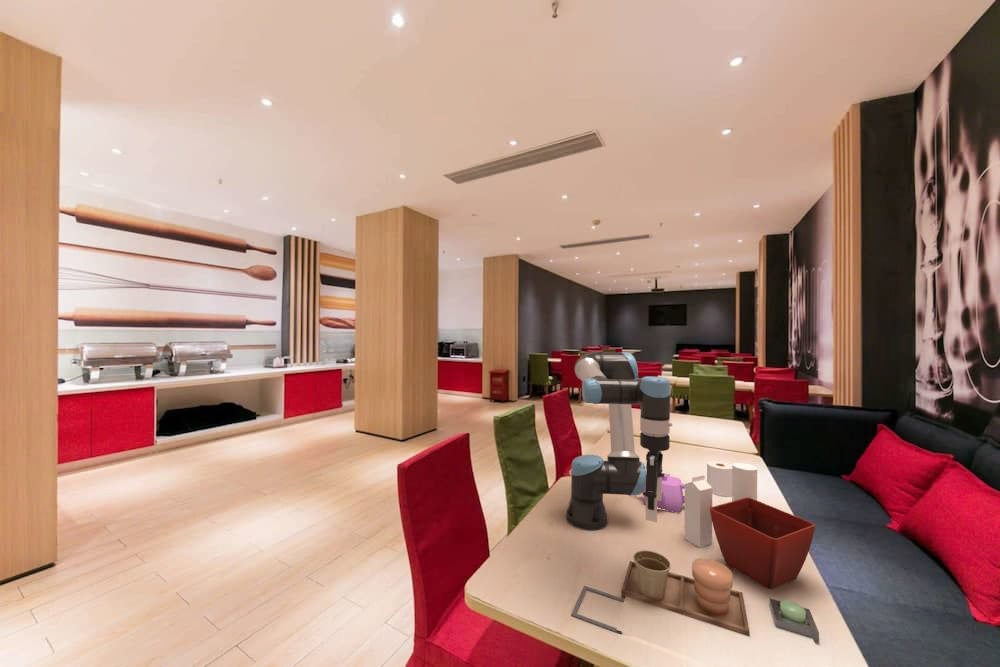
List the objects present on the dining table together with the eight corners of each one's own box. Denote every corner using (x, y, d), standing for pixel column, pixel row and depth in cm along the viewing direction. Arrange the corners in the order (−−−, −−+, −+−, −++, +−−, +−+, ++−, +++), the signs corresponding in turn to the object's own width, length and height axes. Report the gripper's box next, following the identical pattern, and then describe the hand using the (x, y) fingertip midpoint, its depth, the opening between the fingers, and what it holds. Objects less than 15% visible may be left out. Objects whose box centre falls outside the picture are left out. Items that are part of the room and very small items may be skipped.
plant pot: (774, 603, 96) (775, 538, 96) (707, 562, 113) (708, 507, 113) (816, 584, 104) (817, 524, 104) (747, 548, 121) (748, 496, 121)
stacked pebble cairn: (691, 609, 92) (691, 573, 93) (692, 588, 100) (692, 554, 100) (734, 623, 88) (734, 585, 88) (730, 599, 96) (731, 564, 96)
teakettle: (696, 511, 146) (696, 480, 146) (658, 516, 142) (658, 484, 142) (666, 493, 163) (667, 465, 163) (632, 497, 159) (633, 468, 159)
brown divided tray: (621, 597, 98) (621, 590, 98) (629, 566, 111) (629, 560, 111) (749, 639, 84) (749, 631, 84) (742, 599, 97) (742, 592, 97)
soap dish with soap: (775, 629, 87) (775, 619, 87) (769, 607, 94) (769, 598, 94) (818, 643, 84) (819, 632, 84) (809, 619, 91) (809, 609, 91)
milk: (712, 544, 123) (713, 478, 123) (699, 548, 121) (700, 481, 121) (696, 534, 129) (697, 471, 129) (683, 538, 126) (684, 474, 126)
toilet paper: (710, 495, 161) (710, 467, 161) (704, 485, 171) (704, 459, 171) (736, 498, 158) (737, 470, 158) (729, 488, 168) (729, 462, 168)
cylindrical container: (761, 546, 122) (761, 471, 122) (737, 543, 123) (737, 469, 124) (751, 535, 129) (751, 463, 129) (728, 532, 130) (728, 462, 131)
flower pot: (654, 610, 92) (654, 575, 92) (625, 587, 100) (625, 555, 100) (678, 598, 96) (679, 565, 96) (649, 577, 105) (649, 547, 105)
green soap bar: (782, 624, 88) (782, 610, 88) (778, 610, 92) (778, 597, 92) (808, 631, 86) (808, 617, 86) (802, 617, 90) (802, 604, 90)
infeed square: (571, 615, 91) (571, 614, 91) (584, 586, 102) (584, 585, 102) (621, 634, 86) (621, 633, 86) (629, 601, 96) (629, 600, 96)
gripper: (666, 447, 89) (665, 534, 89) (672, 424, 111) (671, 494, 111) (633, 443, 93) (632, 526, 93) (645, 421, 115) (645, 489, 115)
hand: (653, 509), depth 102 cm, fingers open, 13 cm apart
